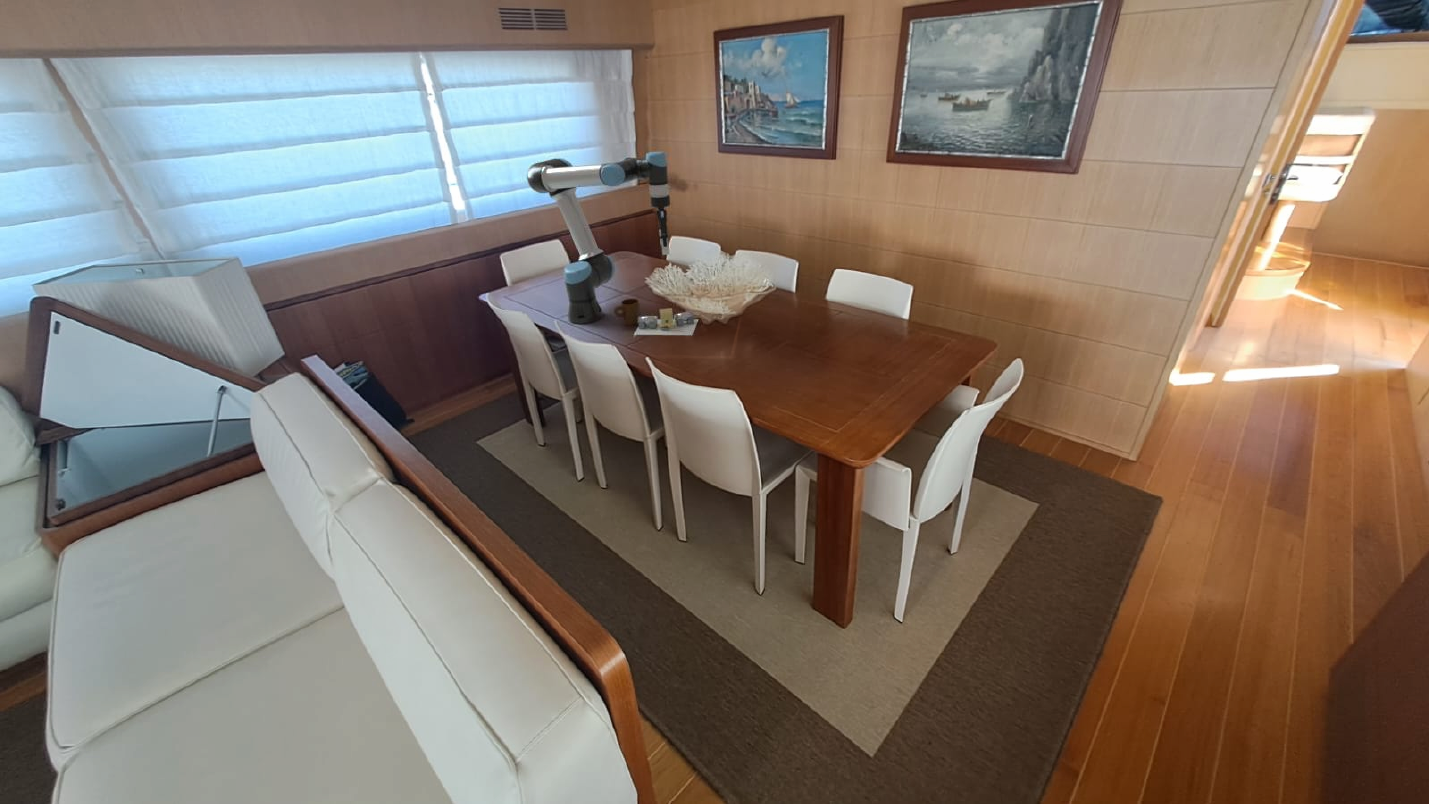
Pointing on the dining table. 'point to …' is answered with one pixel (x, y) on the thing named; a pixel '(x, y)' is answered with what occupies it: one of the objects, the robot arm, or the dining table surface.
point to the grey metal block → (684, 318)
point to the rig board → (666, 331)
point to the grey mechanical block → (647, 322)
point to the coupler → (666, 318)
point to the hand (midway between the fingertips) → (665, 249)
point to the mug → (629, 311)
